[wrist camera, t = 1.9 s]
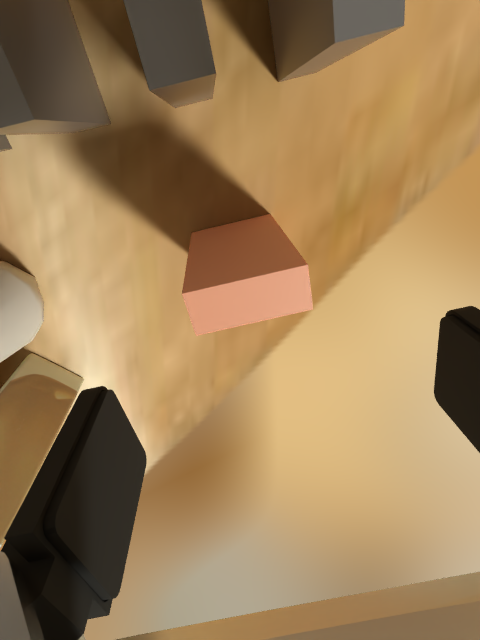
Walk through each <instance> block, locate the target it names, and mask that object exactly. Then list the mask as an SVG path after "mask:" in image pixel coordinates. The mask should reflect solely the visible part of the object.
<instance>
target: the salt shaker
mask: <svg viewBox="0 0 480 640" xmlns="http://www.w3.org/2000/svg"><path fill="white" fill-rule="evenodd" d="M43 321H44V302H43V299H42V296H41V293H40V290H39V287H38V284H37V281H36V279H35V277H34V276H32V275H30V274H28V273H26V272H24V271H22V270H20V269H19V268H17V267H15V266H13V265H11V264H9V263H7V262H6V261H0V362H2V361H3V360H5V359H6V358H8V357H9V356H11V355H12V354H14V353H15V352H16V351H18V350H19V349H21V348H22V347H24V346H25V345H27V344H28V343H30V342H31V341H32V340H33V339H34V337H35V335H36V334H37V332H38V330H39V328H40V327H41V325H42V323H43Z"/></svg>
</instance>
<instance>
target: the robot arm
mask: <svg viewBox="0 0 480 640" xmlns="http://www.w3.org/2000/svg"><path fill="white" fill-rule="evenodd" d="M434 394H435V398H436V400H437V402H438V404H439V405H440V406H441V407H442V409H443V410H444V411H445V412H446V413H447V415H448V416H449V417H450V418H451V419H452V420H453V422H454V423H455V424H456V425H457V426H458V428H459V429H460V430H461V431H462V432H463V434H464V435H465V436H466V437H467V438H468V439H469V441H470V442H471V443H472V444H473V445H474V447H475V448H476V449H477V450H478V451H479V452H480V310H479V309H477V308H476V307H473V306H468V307H463V308H459V309H454V310H450V311H448V312H447V313H446V316H445V317H443V318H442V319H441V321H440V329H439V340H438V352H437V363H436V374H435V385H434ZM145 468H146V453H145V451H144V449H143V447H142V445H141V443H140V441H139V439H138V437H137V435H136V433H135V431H134V430H133V428H132V426H131V424H130V422H129V420H128V418H127V416H126V414H125V412H124V410H123V408H122V406H121V405H120V403H119V401H118V399H117V397H116V395H115V393H114V392H113V391H112V390H107V388H106V387H104V386H100V387H96V388H91V389H86V390H83V391H82V392H81V393H80V394H79V396H78V398H77V400H76V402H75V404H74V406H73V408H72V410H71V411H70V413H69V415H68V417H67V419H66V421H65V423H64V425H63V427H62V429H61V430H60V432H59V434H58V436H57V438H56V440H55V442H54V444H53V446H52V448H51V449H50V451H49V453H48V455H47V457H46V459H45V461H44V463H43V465H42V467H41V469H40V470H39V472H38V474H37V476H36V478H35V480H34V482H33V484H32V486H31V488H30V489H29V491H28V493H27V495H26V497H25V499H24V501H23V503H22V505H21V507H20V508H19V510H18V512H17V514H16V516H15V518H14V520H13V522H12V524H11V526H10V527H9V529H8V531H7V533H6V535H5V537H4V539H5V540H6V542H5V544H4V546H3V548H2V550H1V551H0V640H85V637H84V635H83V634H84V631H85V627H86V623H87V619H91V618H97V617H102V616H107V615H109V613H110V608H111V604H112V599H113V598H116V597H117V596H118V593H119V591H120V588H121V583H122V578H123V573H124V569H125V563H126V559H127V554H128V549H129V545H130V540H131V535H132V530H133V525H134V521H135V516H136V511H137V506H138V501H139V497H140V492H141V487H142V482H143V477H144V473H145ZM117 640H480V572H476V573H470V574H465V575H459V576H453V577H448V578H442V579H436V580H431V581H425V582H420V583H415V584H409V585H403V586H398V587H392V588H387V589H382V590H376V591H371V592H365V593H360V594H354V595H349V596H344V597H338V598H332V599H327V600H322V601H317V602H311V603H306V604H300V605H295V606H289V607H284V608H279V609H273V610H267V611H262V612H257V613H252V614H247V615H241V616H236V617H230V618H225V619H220V620H215V621H209V622H204V623H199V624H194V625H188V626H184V627H178V628H173V629H167V630H162V631H157V632H151V633H146V634H141V635H136V636H131V637H127V638H122V639H117Z"/></svg>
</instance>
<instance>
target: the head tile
mask: <svg viewBox="0 0 480 640" xmlns="http://www.w3.org/2000/svg"><path fill="white" fill-rule="evenodd" d="M182 295H183V298H184V301H185V304H186V307H187V310H188V313H189V316H190V319H191V322H192V325H193V328H194V331H195V334H196V336H198V335H202V334H206V333H211V332H215V331H220V330H224V329H228V328H233V327H237V326H242V325H246V324H250V323H255V322H259V321H264V320H268V319H273V318H277V317H281V316H286V315H290V314H295V313H299V312H303V311H308V310H312V309H313V305H312V296H311V287H310V279H309V270H308V264H307V263H306V262H305V260H304V259H303V257H302V256H301V255H300V253H299V252H298V251H297V249H296V248H295V247H294V245H293V244H292V243H291V241H290V240H289V239H288V237H287V236H286V235H285V233H284V232H283V230H282V229H281V228H280V226H279V225H278V224H277V222H276V221H275V220H274V218H273V217H272V216H271V214H268V215H263V216H259V217H255V218H251V219H247V220H242V221H238V222H234V223H230V224H225V225H221V226H217V227H213V228H209V229H204V230H200V231H196V232H192V234H191V240H190V246H189V253H188V259H187V265H186V272H185V278H184V284H183V291H182Z"/></svg>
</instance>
